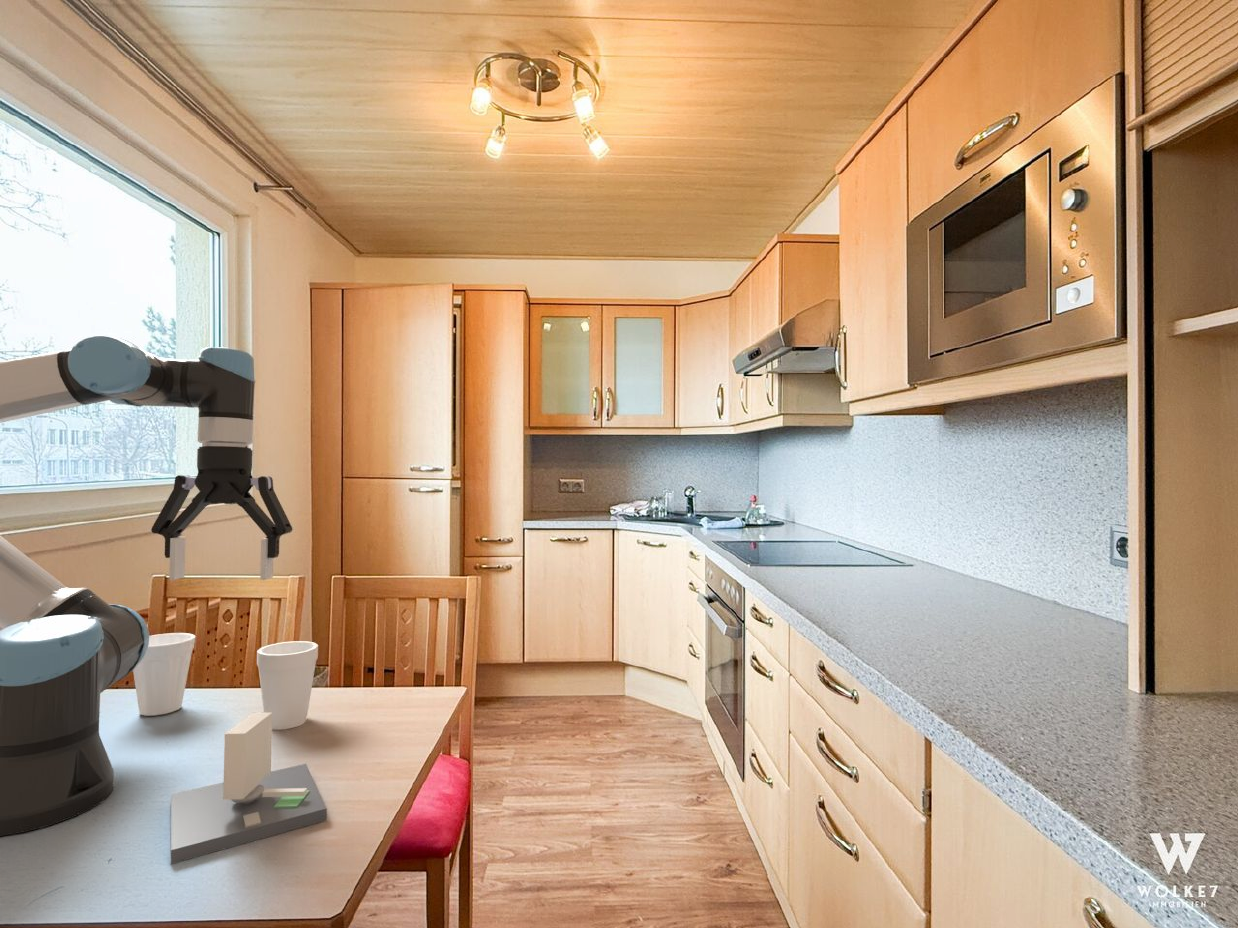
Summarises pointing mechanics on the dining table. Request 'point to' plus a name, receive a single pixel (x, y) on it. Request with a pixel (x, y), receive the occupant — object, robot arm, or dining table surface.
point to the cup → (163, 673)
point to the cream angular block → (250, 761)
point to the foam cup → (287, 681)
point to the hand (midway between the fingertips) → (222, 578)
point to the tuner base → (241, 814)
